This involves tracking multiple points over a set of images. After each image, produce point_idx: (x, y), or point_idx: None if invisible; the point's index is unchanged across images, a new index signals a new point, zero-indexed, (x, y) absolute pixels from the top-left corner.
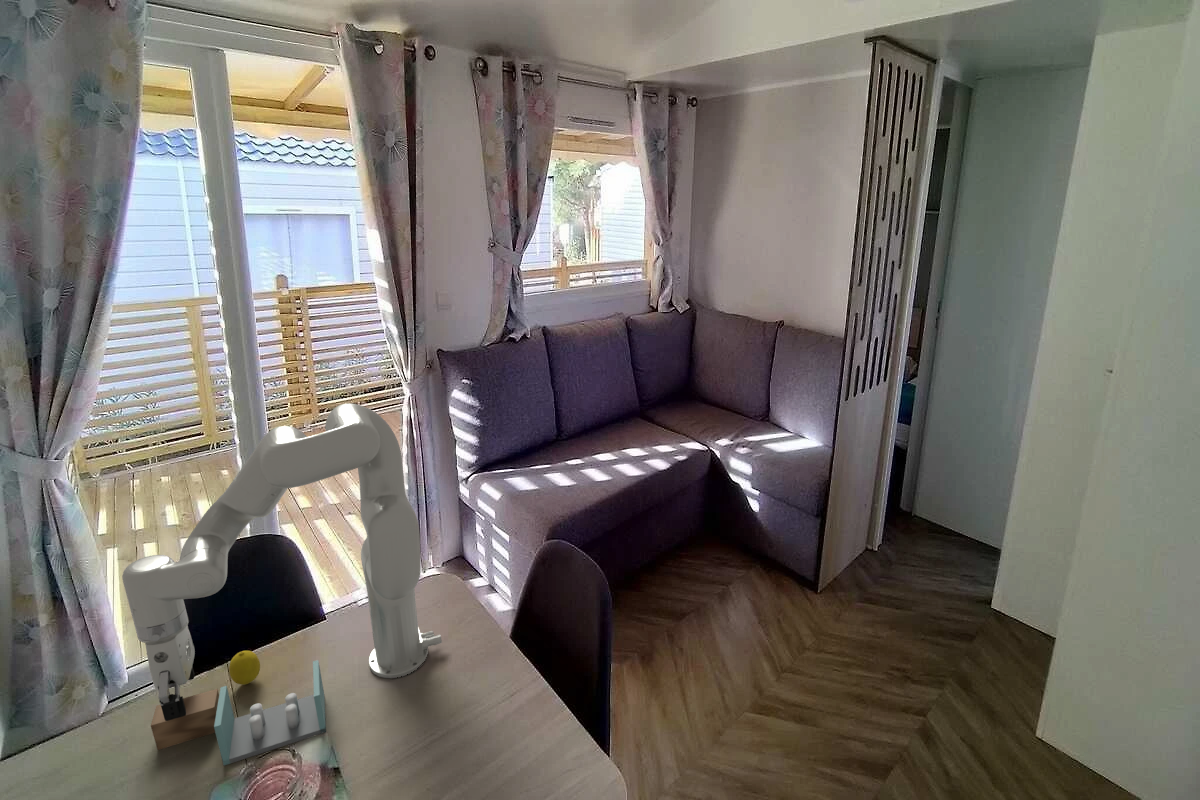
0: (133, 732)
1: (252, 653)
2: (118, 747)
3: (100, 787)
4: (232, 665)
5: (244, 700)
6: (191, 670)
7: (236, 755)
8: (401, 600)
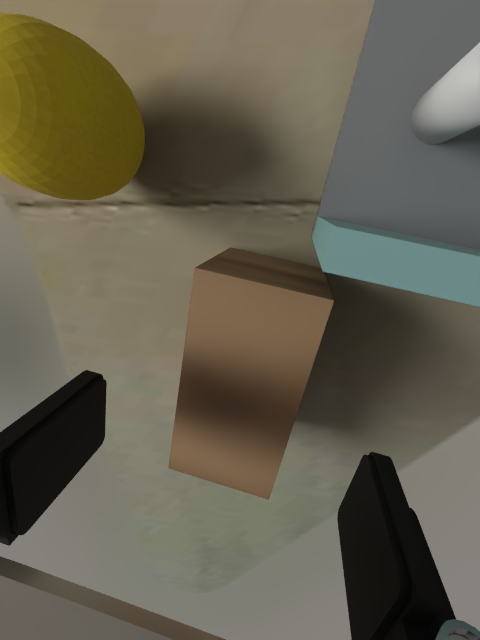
0: None
1: None
2: None
3: (317, 516)
4: (50, 172)
5: (213, 168)
6: (61, 413)
7: None
8: None
